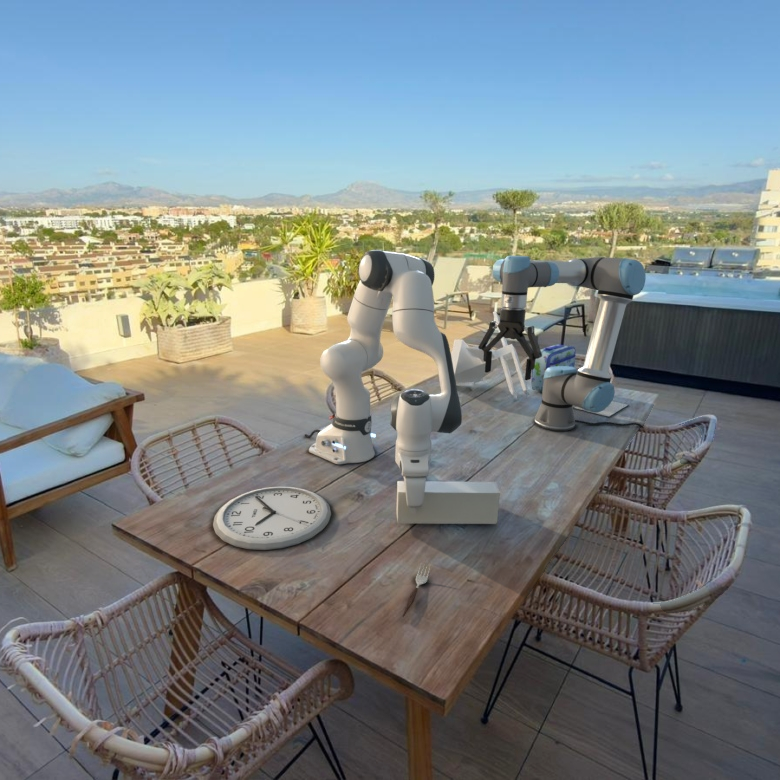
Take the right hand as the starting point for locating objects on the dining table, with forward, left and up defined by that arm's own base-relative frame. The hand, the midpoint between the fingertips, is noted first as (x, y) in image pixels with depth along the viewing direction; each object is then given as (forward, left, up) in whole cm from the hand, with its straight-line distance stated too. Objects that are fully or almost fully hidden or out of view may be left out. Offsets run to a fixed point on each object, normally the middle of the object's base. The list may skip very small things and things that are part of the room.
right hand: (507, 375), depth 165 cm
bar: (+17, +42, -27) cm, 53 cm away
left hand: (+26, +43, -24) cm, 56 cm away
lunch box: (-31, -84, -29) cm, 94 cm away
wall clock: (+62, +46, -29) cm, 83 cm away
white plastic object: (+4, -73, -29) cm, 78 cm away
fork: (+23, +71, -29) cm, 80 cm away
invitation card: (-48, -61, -29) cm, 83 cm away
